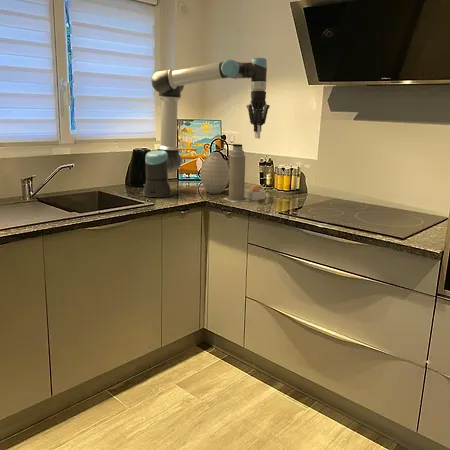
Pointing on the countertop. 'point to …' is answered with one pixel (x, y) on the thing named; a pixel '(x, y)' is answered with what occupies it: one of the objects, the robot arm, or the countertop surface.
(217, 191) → the vase
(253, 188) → the brown egg
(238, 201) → the beige square plate
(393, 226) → the countertop surface
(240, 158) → the thermos bottle
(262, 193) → the housing
